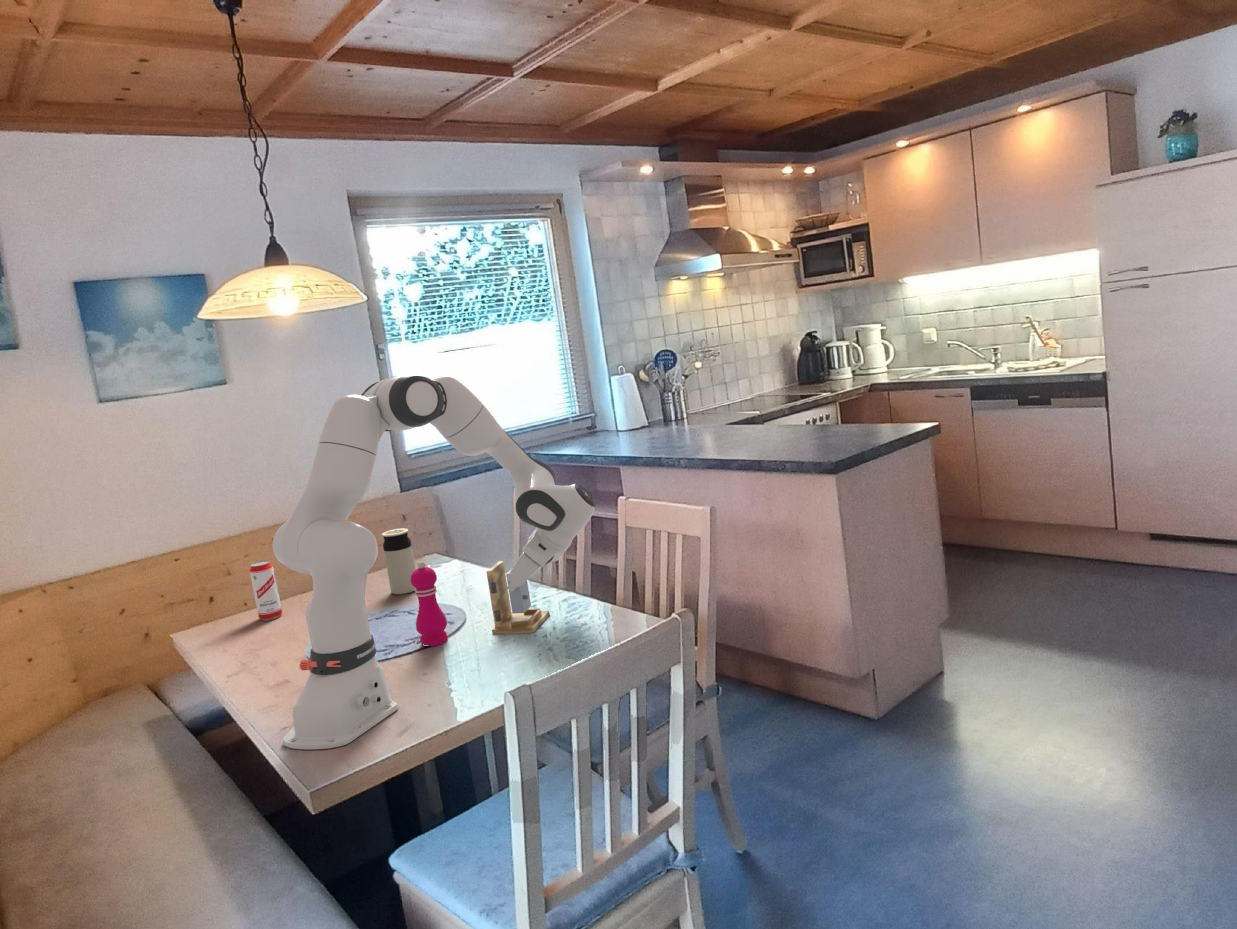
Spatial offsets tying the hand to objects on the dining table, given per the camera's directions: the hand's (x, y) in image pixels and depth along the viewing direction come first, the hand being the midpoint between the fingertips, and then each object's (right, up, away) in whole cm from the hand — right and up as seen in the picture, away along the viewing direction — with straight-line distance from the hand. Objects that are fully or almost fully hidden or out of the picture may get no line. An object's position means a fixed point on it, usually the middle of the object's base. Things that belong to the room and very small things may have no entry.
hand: (515, 584), depth 201 cm
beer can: (-73, -14, +34) cm, 82 cm away
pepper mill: (-19, -13, -3) cm, 23 cm away
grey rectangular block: (+1, -6, +1) cm, 6 cm away
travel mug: (-38, -8, +44) cm, 58 cm away
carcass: (+2, -10, +1) cm, 10 cm away
